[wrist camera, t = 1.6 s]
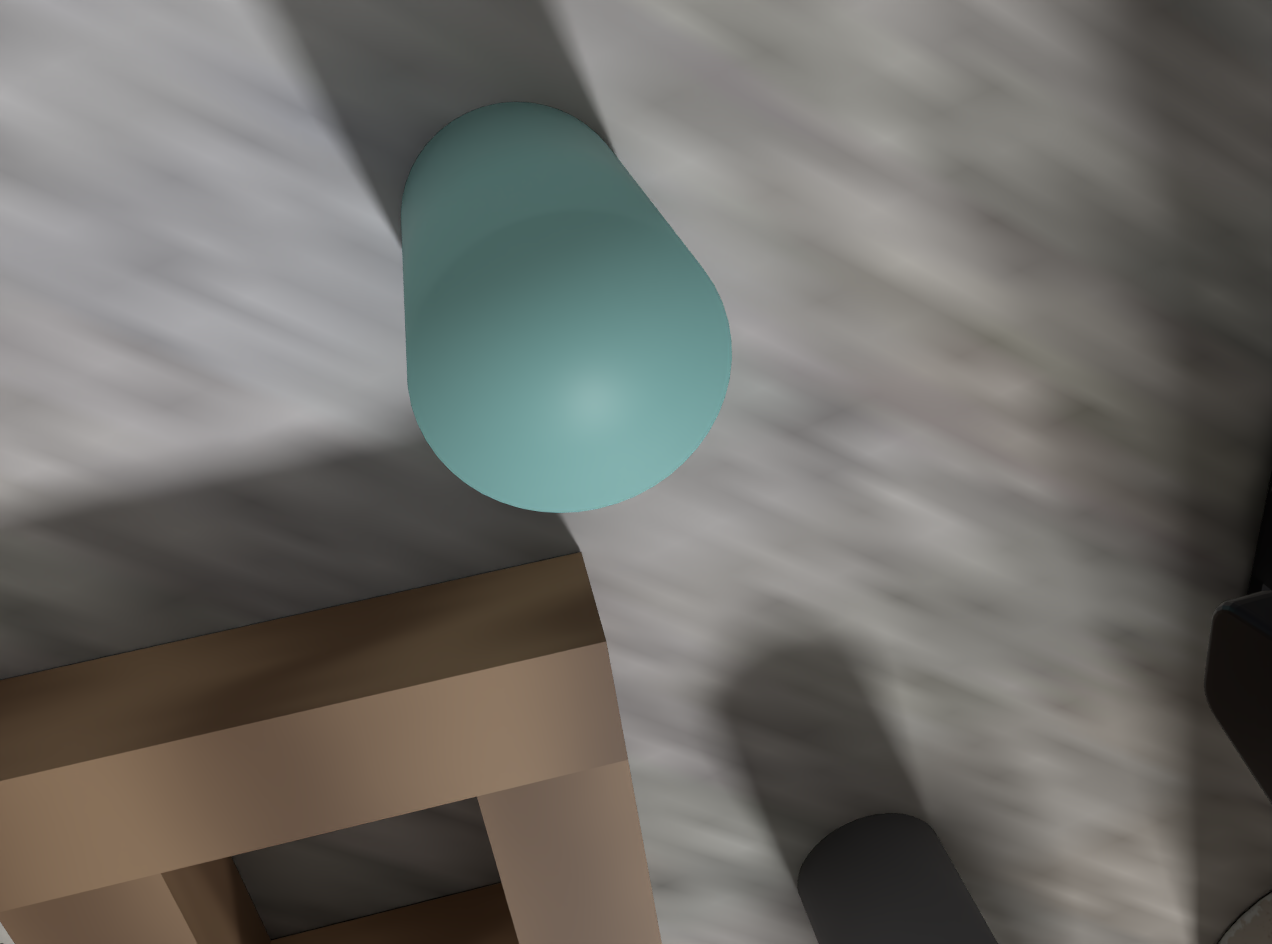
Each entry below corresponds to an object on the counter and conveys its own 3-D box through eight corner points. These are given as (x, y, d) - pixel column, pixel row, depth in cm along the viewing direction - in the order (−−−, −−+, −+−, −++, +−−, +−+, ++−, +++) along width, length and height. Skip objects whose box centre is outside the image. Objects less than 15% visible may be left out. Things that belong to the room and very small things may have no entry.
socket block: (581, 552, 22) (606, 641, 20) (651, 926, 29) (678, 1031, 26) (-24, 685, 21) (-80, 799, 19) (185, 1047, 27) (164, 1170, 25)
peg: (615, 82, 18) (716, 181, 13) (645, 306, 20) (743, 477, 15) (375, 125, 18) (369, 247, 12) (430, 349, 20) (447, 541, 14)
